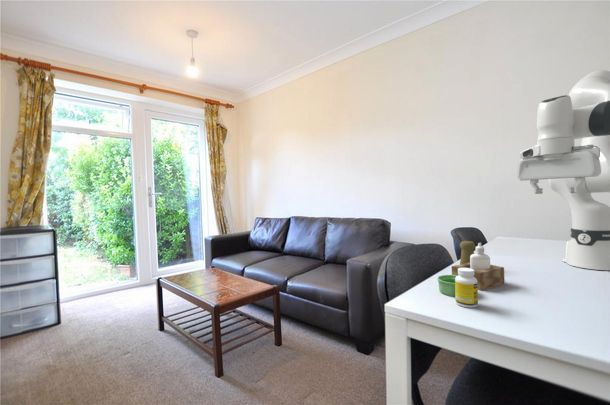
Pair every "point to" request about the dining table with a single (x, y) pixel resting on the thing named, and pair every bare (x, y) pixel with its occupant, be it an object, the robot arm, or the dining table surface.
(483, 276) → the walnut holder
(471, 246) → the cork
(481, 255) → the eye dropper bottle
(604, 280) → the dining table surface
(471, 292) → the supplement bottle
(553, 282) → the dining table surface
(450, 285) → the ramekin
